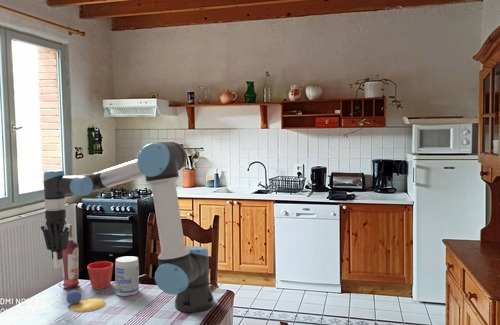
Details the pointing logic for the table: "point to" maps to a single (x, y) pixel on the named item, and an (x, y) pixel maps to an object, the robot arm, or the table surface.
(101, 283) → the flower pot
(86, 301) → the disc
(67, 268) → the liquor
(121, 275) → the supplement tub
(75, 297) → the ball
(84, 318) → the table surface
